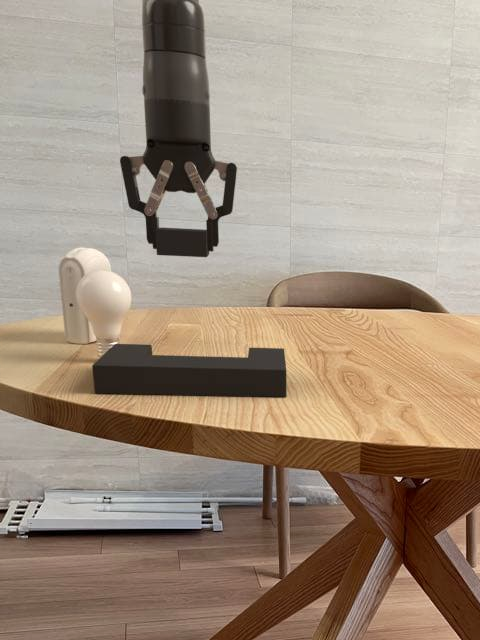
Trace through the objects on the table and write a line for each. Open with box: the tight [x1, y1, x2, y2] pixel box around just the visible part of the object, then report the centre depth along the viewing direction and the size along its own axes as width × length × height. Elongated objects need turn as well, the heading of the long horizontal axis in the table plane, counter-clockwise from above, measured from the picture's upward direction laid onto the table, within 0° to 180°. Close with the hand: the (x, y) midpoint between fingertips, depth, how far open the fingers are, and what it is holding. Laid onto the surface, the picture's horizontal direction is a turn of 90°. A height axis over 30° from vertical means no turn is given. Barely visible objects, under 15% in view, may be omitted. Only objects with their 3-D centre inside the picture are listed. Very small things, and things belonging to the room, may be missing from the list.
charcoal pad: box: [91, 343, 287, 398], centre depth 94 cm, size 20×14×3 cm
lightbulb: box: [76, 269, 133, 359], centre depth 101 cm, size 6×6×11 cm
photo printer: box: [58, 246, 112, 345], centre depth 116 cm, size 10×4×12 cm, turn 177°
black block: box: [155, 227, 210, 258], centre depth 103 cm, size 6×6×3 cm
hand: (183, 249), depth 104 cm, fingers closed on black block, 6 cm apart
